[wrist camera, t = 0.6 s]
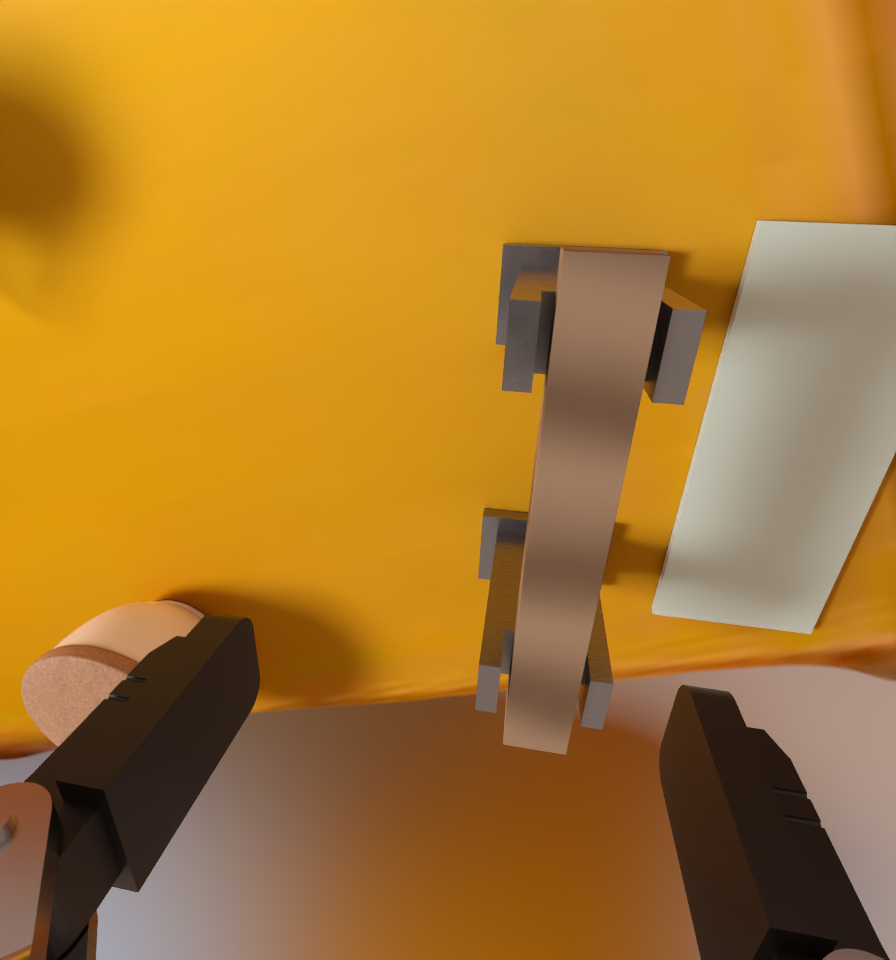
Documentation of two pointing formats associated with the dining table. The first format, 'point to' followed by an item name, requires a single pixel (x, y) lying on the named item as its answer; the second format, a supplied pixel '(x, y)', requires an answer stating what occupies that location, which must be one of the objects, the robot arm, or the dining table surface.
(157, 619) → the lidded bowl
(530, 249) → the forked posts
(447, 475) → the dining table surface
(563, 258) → the walnut bar
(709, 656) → the dining table surface
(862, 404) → the white flat slab
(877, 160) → the dining table surface
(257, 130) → the dining table surface
